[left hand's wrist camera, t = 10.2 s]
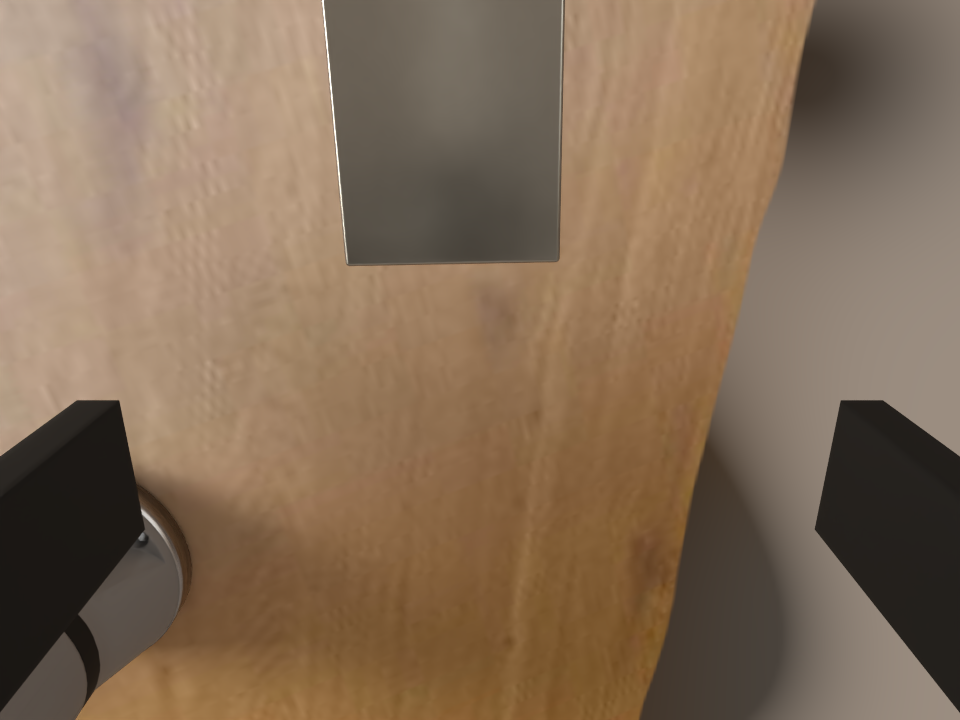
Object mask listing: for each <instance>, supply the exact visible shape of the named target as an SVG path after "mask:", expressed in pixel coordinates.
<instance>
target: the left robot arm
mask: <svg viewBox="0 0 960 720" xmlns="http://www.w3.org/2000/svg"><path fill="white" fill-rule="evenodd" d="M815 530H816V531H817V533H818V534H819V535H820V537H821V538H822V539H823V540H824V542H825V543H826V544H827V545H828V547H829V548H830V549H831V550H832V552H833V553H834V554H835V555H836V557H837V558H838V559H839V561H840V562H841V563H842V564H843V566H844V567H845V568H846V569H847V571H848V572H849V573H850V574H851V576H852V577H853V578H854V579H855V581H856V582H857V583H858V585H859V586H860V587H861V588H862V590H863V591H864V592H865V593H866V595H867V596H868V597H869V598H870V600H871V601H872V602H873V603H874V605H875V606H876V607H877V609H878V610H879V611H880V612H881V614H882V615H883V616H884V617H885V619H886V620H887V621H888V622H889V624H890V625H891V626H892V628H893V629H894V630H895V631H896V632H897V634H898V635H899V636H900V638H901V639H902V640H903V641H904V643H905V644H906V645H907V646H908V648H909V649H910V650H911V651H912V653H913V654H914V655H915V657H916V658H917V659H918V660H919V662H920V663H921V664H922V665H923V667H924V668H925V669H926V670H927V672H928V673H929V674H930V676H931V677H932V678H933V679H934V681H935V682H936V683H937V684H938V686H939V687H940V688H941V689H942V691H943V692H944V693H945V695H946V696H947V697H948V698H949V700H950V701H951V702H952V703H953V705H954V706H955V707H956V708H957V710H958V711H959V712H960V456H958V455H957V454H956V453H954V452H953V451H951V450H950V449H949V448H947V447H946V446H945V445H943V444H942V443H941V442H939V441H938V440H936V439H935V438H934V437H932V436H931V435H930V434H928V433H927V432H925V431H924V430H923V429H921V428H920V427H919V426H917V425H916V424H914V423H913V422H912V421H910V420H909V419H908V418H906V417H905V416H904V415H902V414H901V413H899V412H898V411H897V410H895V409H894V408H893V407H891V406H890V405H888V404H887V403H886V402H884V401H883V400H842V401H841V402H840V407H839V412H838V417H837V422H836V427H835V432H834V437H833V442H832V447H831V452H830V457H829V462H828V467H827V472H826V476H825V481H824V486H823V491H822V496H821V501H820V506H819V511H818V516H817V521H816V526H815ZM191 575H192V570H191V559H190V554H189V550H188V546H187V544H186V541H185V538H184V536H183V534H182V532H181V530H180V528H179V527H178V525H177V524H176V522H175V520H174V519H173V518H172V516H171V515H170V514H169V512H168V511H167V510H166V509H165V508H164V507H163V506H162V504H161V503H160V502H159V501H158V500H156V499H155V498H154V497H153V496H152V495H151V494H150V493H148V492H147V491H146V490H145V489H143V488H142V487H140V486H139V485H137V484H136V481H135V476H134V471H133V466H132V462H131V457H130V452H129V447H128V442H127V437H126V432H125V427H124V422H123V417H122V412H121V407H120V402H119V400H77V401H76V402H74V403H73V404H72V405H70V406H69V407H67V408H66V409H65V410H63V411H62V412H61V413H59V414H58V415H56V416H55V417H54V418H52V419H51V420H50V421H48V422H47V423H45V424H44V425H43V426H41V427H40V428H39V429H37V430H36V431H35V432H33V433H32V434H30V435H29V436H28V437H26V438H25V439H24V440H22V441H21V442H19V443H18V444H17V445H15V446H14V447H13V448H11V449H10V450H9V451H7V452H6V453H4V454H3V455H2V456H0V720H75V719H76V718H77V716H78V714H79V713H80V711H81V710H82V708H83V707H84V705H85V704H86V702H87V701H88V699H89V698H90V696H91V695H92V693H93V692H94V690H95V689H97V688H98V687H99V686H100V685H102V684H103V683H104V682H105V681H107V680H108V679H109V678H111V677H112V676H113V675H114V674H116V673H117V672H118V671H119V670H121V669H122V668H123V667H124V666H126V665H127V664H128V663H129V662H131V661H132V660H133V659H134V658H136V657H137V656H138V655H139V654H141V653H142V652H143V651H145V650H146V649H147V648H149V647H150V646H151V645H153V644H154V643H155V642H156V641H158V640H159V639H160V638H161V637H162V636H163V635H164V633H165V632H166V631H167V630H168V628H169V627H170V625H171V624H172V622H173V621H174V619H175V617H176V616H177V614H178V612H179V611H180V609H181V607H182V606H183V604H184V602H185V600H186V597H187V595H188V592H189V588H190V584H191Z"/></svg>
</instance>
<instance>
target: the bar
mask: <svg viewBox="0 0 960 720" xmlns="http://www.w3.org/2000/svg"><path fill="white" fill-rule="evenodd" d="M322 11H323V21H324V32H325V43H326V54H327V65H328V76H329V86H330V97H331V108H332V119H333V130H334V141H335V152H336V162H337V173H338V184H339V195H340V206H341V217H342V228H343V238H344V249H345V260H346V264H347V265H348V266H377V265H429V264H482V263H534V262H557V261H558V260H559V253H560V206H561V159H562V112H563V65H564V18H565V0H322Z"/></svg>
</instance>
